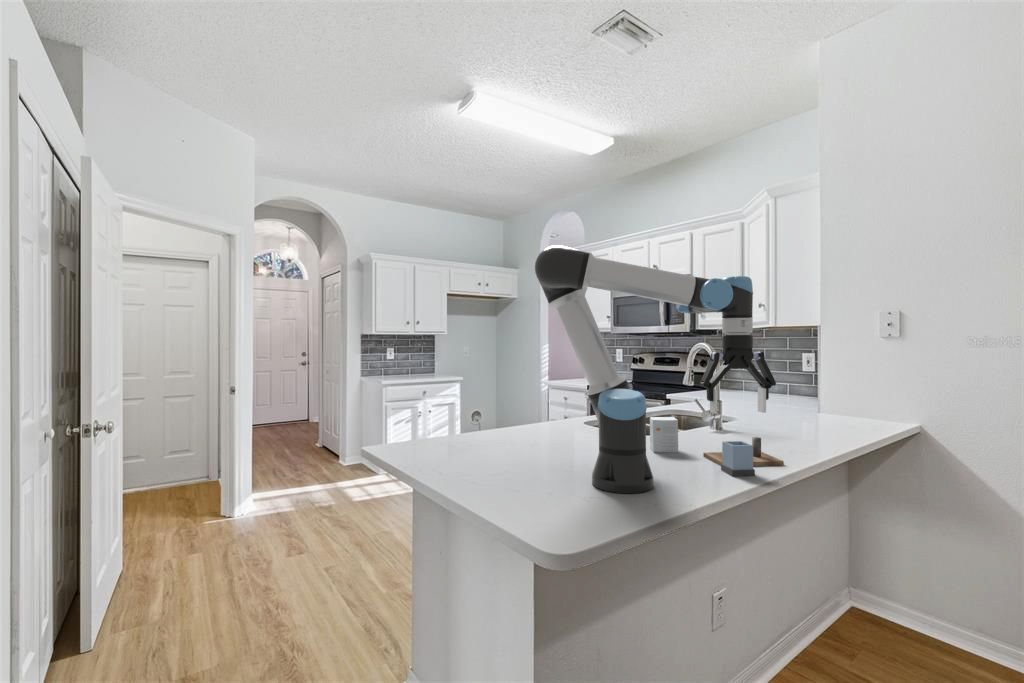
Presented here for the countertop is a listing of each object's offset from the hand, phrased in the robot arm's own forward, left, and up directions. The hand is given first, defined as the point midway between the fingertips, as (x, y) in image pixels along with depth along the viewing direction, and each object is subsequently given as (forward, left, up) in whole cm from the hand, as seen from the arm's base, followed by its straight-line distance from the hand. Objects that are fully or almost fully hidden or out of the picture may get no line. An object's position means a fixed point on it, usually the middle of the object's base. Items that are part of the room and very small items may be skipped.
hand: (737, 412), depth 134 cm
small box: (-10, +27, -17) cm, 33 cm away
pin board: (+8, +12, -16) cm, 22 cm away
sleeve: (0, 0, -16) cm, 16 cm away
